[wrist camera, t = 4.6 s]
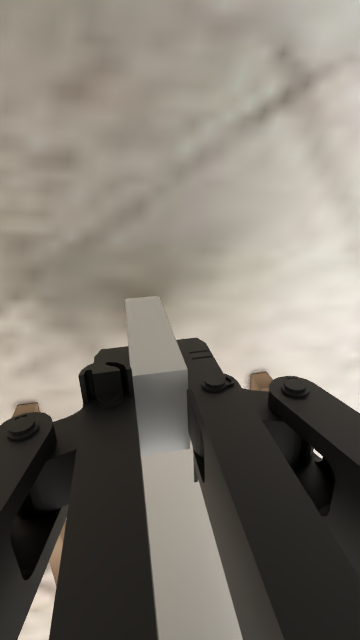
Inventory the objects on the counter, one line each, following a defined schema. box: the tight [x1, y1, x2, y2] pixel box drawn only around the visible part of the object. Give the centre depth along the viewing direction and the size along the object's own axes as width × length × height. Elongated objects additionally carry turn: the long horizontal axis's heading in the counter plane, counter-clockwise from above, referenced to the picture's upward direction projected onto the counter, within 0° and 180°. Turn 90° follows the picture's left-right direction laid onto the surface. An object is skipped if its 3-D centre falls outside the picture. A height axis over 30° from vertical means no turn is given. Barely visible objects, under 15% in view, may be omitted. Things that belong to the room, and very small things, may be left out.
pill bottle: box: [141, 439, 243, 640], centre depth 14 cm, size 8×8×15 cm
